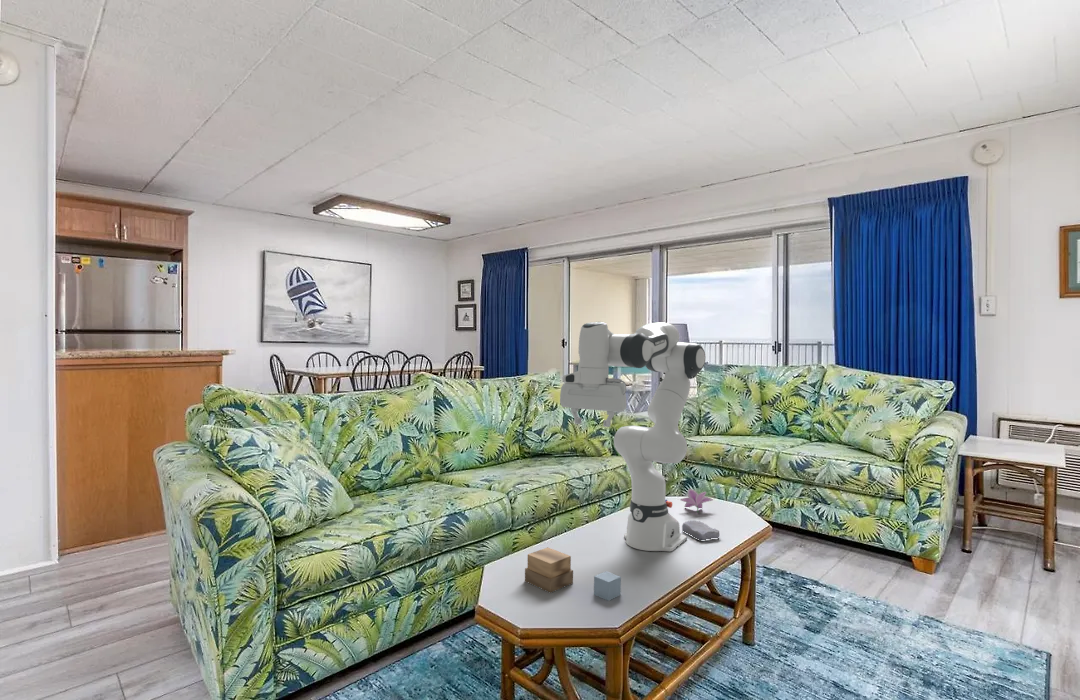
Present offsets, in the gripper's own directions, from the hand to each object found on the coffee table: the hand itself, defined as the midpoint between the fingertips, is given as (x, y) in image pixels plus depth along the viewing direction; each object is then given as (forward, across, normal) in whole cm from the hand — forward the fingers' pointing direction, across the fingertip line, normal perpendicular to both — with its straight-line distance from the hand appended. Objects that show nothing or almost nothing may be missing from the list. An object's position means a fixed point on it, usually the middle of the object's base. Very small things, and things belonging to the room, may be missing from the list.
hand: (592, 425), depth 163 cm
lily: (+43, -8, -78) cm, 89 cm away
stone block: (+43, -18, -52) cm, 70 cm away
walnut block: (+44, +6, +12) cm, 46 cm away
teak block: (+40, +6, +12) cm, 42 cm away
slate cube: (+43, -11, +10) cm, 46 cm away
